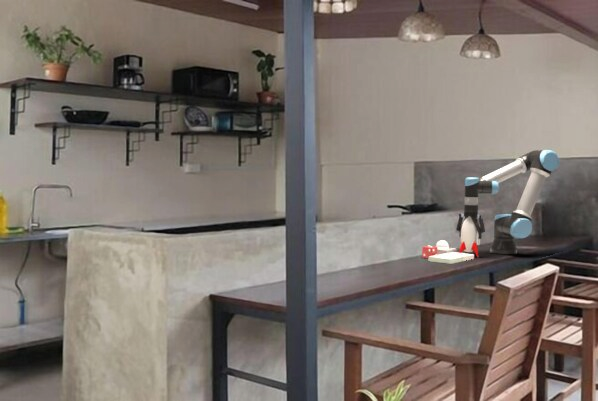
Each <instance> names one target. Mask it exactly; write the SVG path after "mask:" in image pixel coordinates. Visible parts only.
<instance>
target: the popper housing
mask: <svg viewBox="0 0 598 401" xmlns="http://www.w3.org/2000/svg"><path fill="white" fill-rule="evenodd" d="M451 252H456V253H458V249H457V248H455V247H449V249H446V250H443V249H437V255H440V254H445V253H451Z"/></svg>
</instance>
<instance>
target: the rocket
mask: <svg viewBox="0 0 598 401" xmlns="http://www.w3.org/2000/svg"><path fill="white" fill-rule="evenodd" d="M464 219H465V218H464ZM462 224H463V225H462ZM462 224H461V226H462V228H461V237H460V239H461V238H462V243H460V247H459V252H458V253H465V254H473V252H474V254H475V255H476V257H477V258H479V249H478V245H477V233H478V231H477V229H476V226H475V224H474V222H473V221H472V218H471V217H470V216H469V217H468V218H466V219H465V221H464V220H463V221H462Z"/></svg>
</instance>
